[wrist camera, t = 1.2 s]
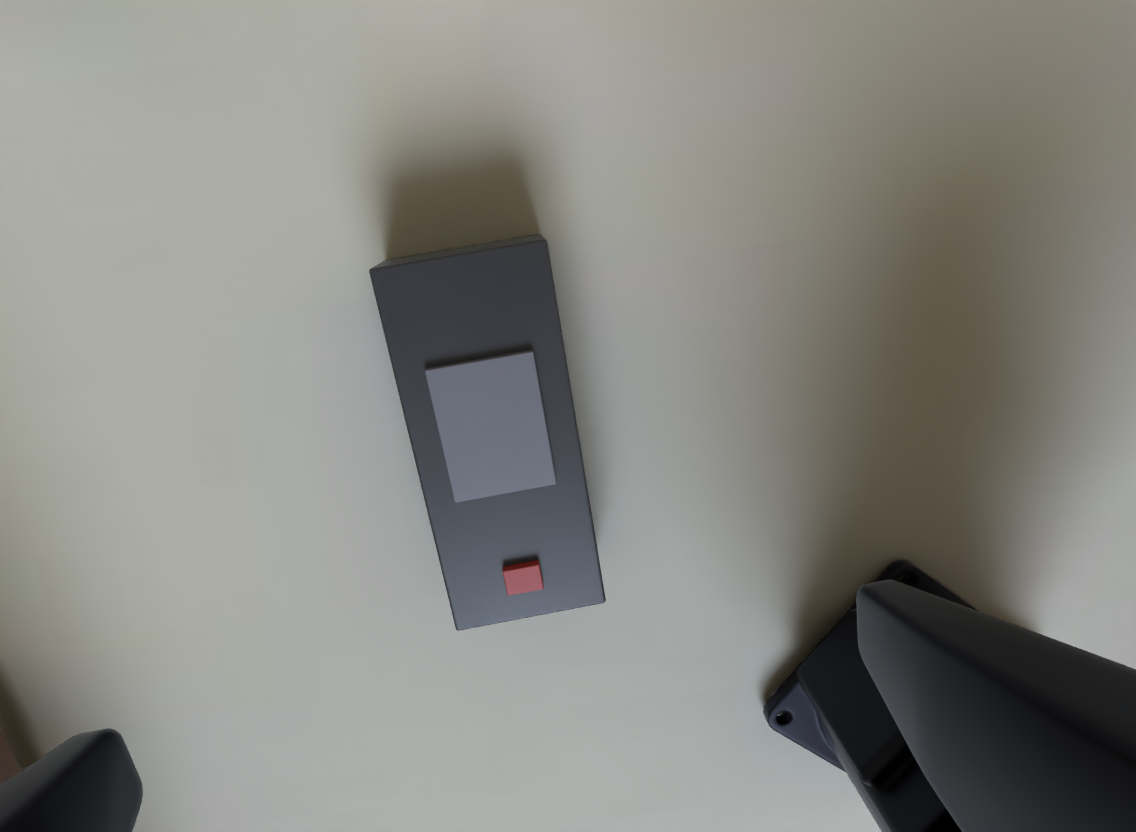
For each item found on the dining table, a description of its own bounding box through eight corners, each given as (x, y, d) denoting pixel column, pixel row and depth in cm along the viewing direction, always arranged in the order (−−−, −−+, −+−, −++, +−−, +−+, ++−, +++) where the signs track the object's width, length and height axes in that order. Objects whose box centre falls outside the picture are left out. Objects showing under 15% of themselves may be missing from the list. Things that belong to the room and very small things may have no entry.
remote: (541, 233, 17) (547, 239, 15) (595, 560, 20) (607, 608, 18) (384, 259, 17) (366, 270, 15) (461, 585, 20) (455, 637, 17)
